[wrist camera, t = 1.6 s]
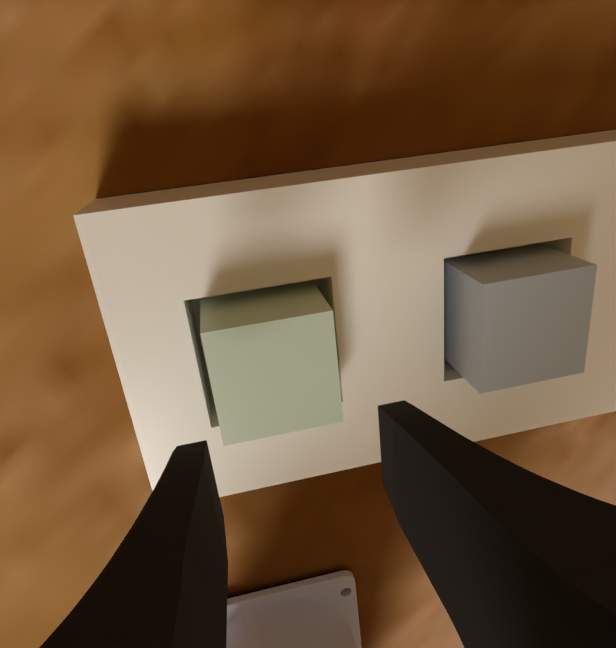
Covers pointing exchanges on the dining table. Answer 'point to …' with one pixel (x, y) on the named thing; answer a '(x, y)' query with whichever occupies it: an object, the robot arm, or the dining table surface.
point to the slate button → (517, 315)
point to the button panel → (349, 292)
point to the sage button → (271, 361)
